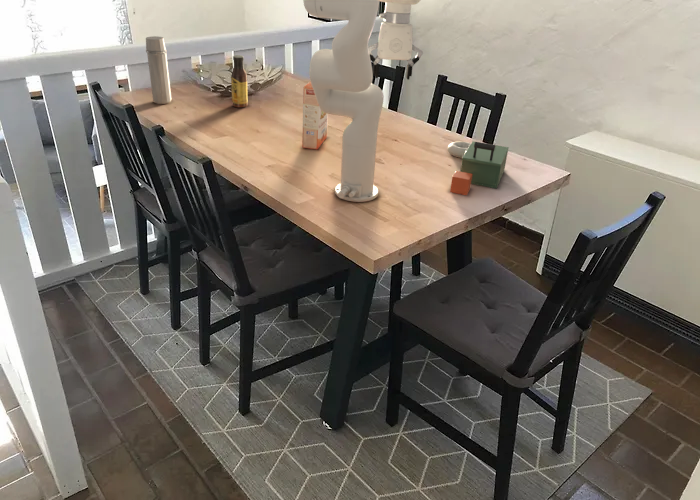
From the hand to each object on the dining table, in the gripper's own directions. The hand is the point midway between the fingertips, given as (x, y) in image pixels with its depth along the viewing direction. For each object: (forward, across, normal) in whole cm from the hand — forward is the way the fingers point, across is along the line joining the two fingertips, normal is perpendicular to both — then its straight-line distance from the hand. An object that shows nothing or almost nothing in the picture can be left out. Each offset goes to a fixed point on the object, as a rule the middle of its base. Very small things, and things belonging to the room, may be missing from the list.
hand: (392, 77), depth 176 cm
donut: (+27, +27, +8) cm, 39 cm away
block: (+27, +21, -23) cm, 41 cm away
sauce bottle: (+27, -55, +54) cm, 82 cm away
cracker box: (+27, -24, +14) cm, 38 cm away
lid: (+19, +30, -12) cm, 37 cm away
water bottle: (+27, -87, +55) cm, 106 cm away
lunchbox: (+27, +30, -11) cm, 42 cm away
